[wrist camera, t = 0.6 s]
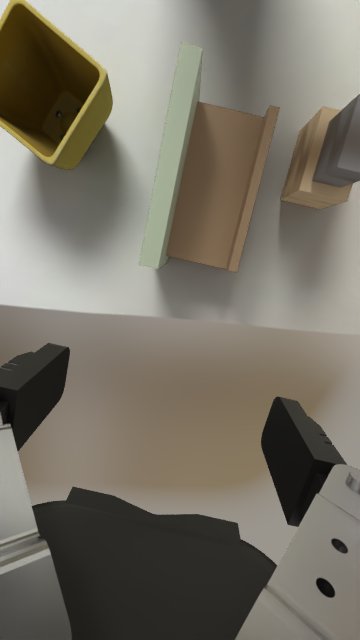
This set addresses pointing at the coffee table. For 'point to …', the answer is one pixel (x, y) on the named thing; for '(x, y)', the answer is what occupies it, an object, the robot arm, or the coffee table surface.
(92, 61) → the flower pot
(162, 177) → the wall board
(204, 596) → the robot arm
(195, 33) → the coffee table surface
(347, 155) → the cabinet block
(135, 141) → the coffee table surface
